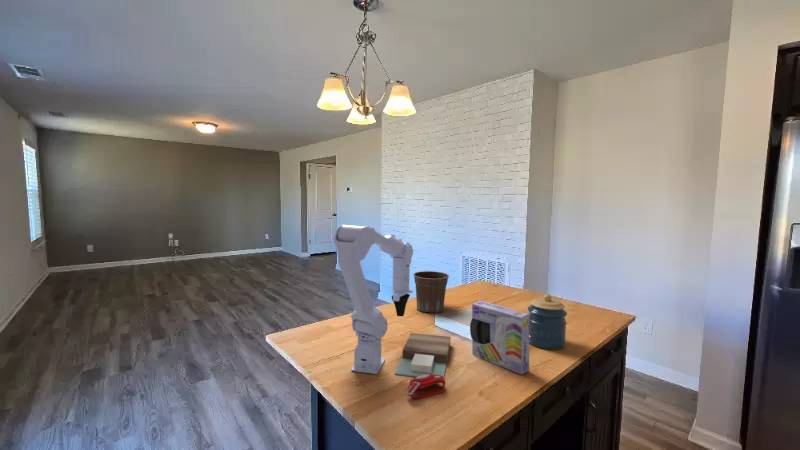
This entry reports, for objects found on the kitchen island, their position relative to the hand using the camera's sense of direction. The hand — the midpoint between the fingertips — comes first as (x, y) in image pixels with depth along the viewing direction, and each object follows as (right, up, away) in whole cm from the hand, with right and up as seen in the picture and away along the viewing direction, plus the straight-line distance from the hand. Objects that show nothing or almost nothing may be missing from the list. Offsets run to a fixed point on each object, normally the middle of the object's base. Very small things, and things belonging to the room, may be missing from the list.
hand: (400, 315), depth 120 cm
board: (+9, -11, -4) cm, 15 cm away
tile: (+7, -11, -15) cm, 20 cm away
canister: (+52, -11, +5) cm, 53 cm away
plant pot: (+14, -8, +40) cm, 43 cm away
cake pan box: (+31, -12, -11) cm, 35 cm away
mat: (+6, -12, -16) cm, 21 cm away
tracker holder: (+6, -13, -27) cm, 30 cm away
